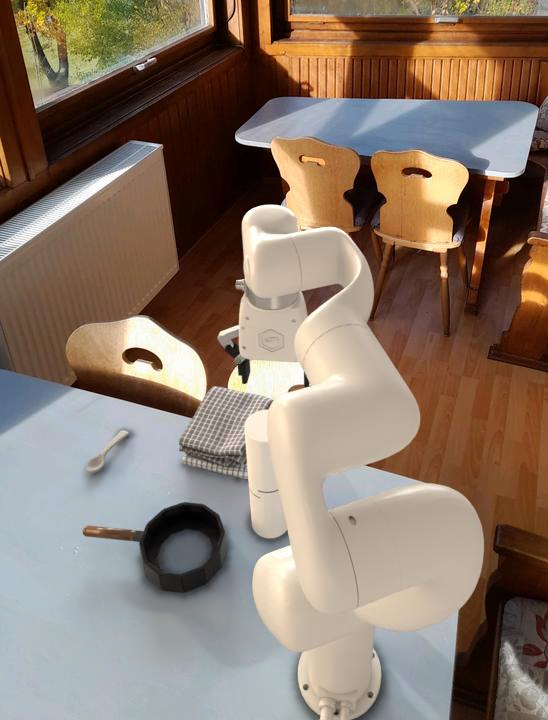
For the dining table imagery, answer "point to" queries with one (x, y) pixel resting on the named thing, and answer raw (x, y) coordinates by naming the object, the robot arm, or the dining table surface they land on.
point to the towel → (221, 431)
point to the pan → (161, 530)
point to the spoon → (105, 453)
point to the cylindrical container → (262, 479)
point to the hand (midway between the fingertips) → (276, 379)
